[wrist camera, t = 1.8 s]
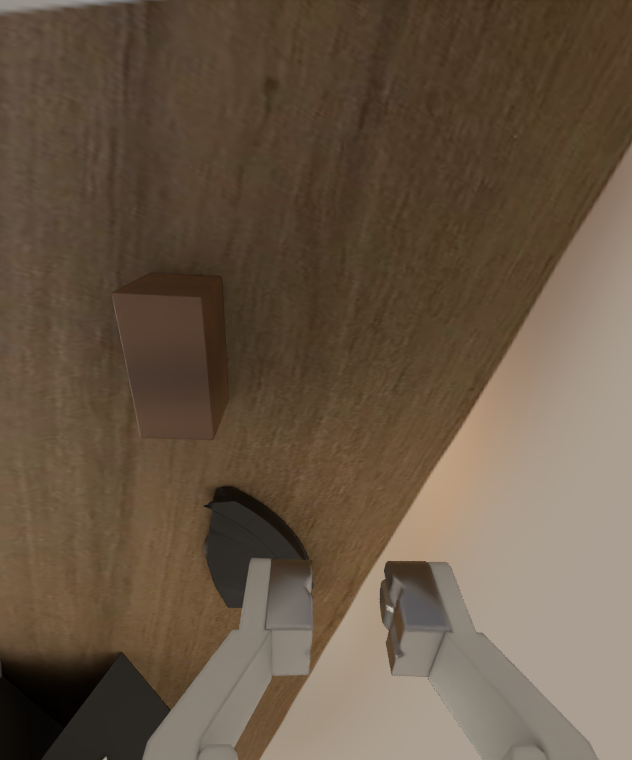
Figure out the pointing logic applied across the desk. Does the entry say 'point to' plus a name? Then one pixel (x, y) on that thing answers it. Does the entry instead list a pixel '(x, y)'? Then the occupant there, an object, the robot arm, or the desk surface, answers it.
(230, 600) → the fan shaped piece
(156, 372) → the walnut block
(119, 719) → the office phone
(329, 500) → the desk surface
